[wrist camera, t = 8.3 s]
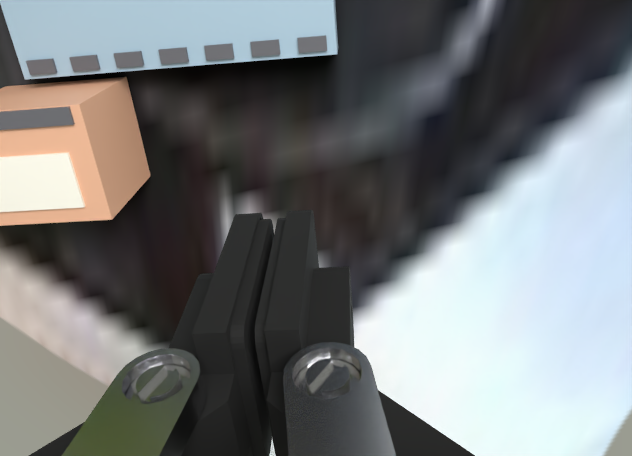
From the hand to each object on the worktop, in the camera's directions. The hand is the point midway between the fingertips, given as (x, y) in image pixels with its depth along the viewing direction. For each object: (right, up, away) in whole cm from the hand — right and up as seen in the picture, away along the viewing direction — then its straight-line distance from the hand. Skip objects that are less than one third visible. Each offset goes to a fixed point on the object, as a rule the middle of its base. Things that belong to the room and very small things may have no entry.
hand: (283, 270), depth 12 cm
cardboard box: (-11, +6, +15) cm, 19 cm away
